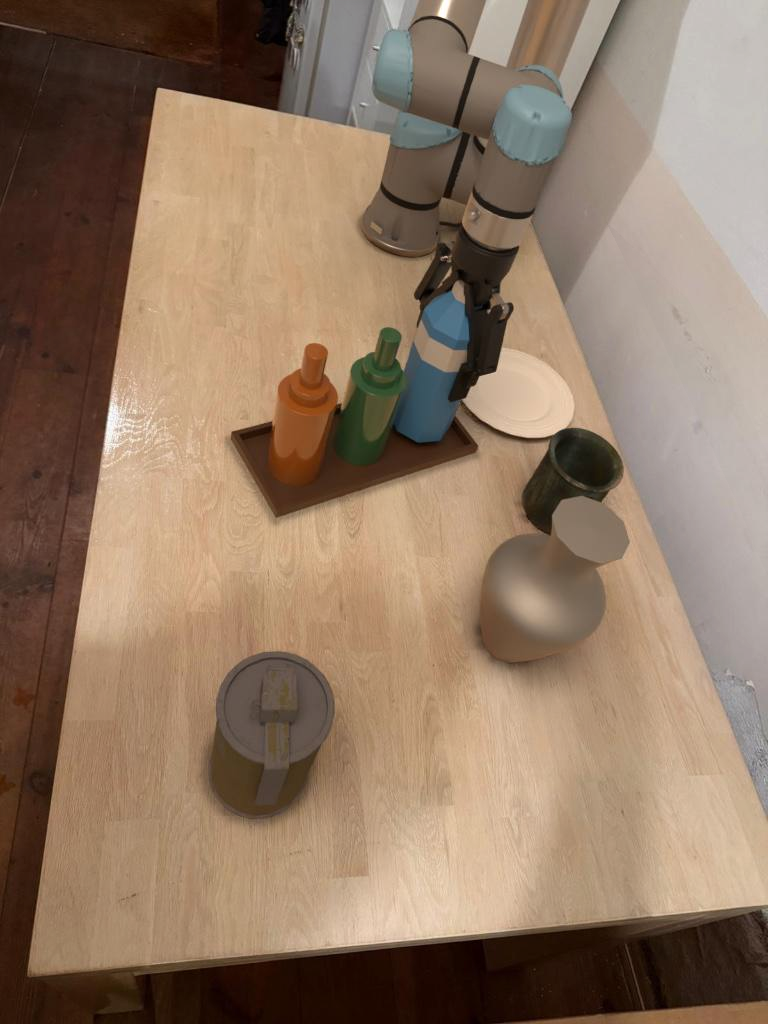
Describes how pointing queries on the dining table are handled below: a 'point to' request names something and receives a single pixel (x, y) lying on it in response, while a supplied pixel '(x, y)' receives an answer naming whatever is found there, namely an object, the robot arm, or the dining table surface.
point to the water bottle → (434, 368)
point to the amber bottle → (302, 420)
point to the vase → (550, 583)
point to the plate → (522, 397)
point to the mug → (571, 474)
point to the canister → (268, 732)
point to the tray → (346, 464)
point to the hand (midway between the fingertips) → (437, 374)
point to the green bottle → (370, 402)
